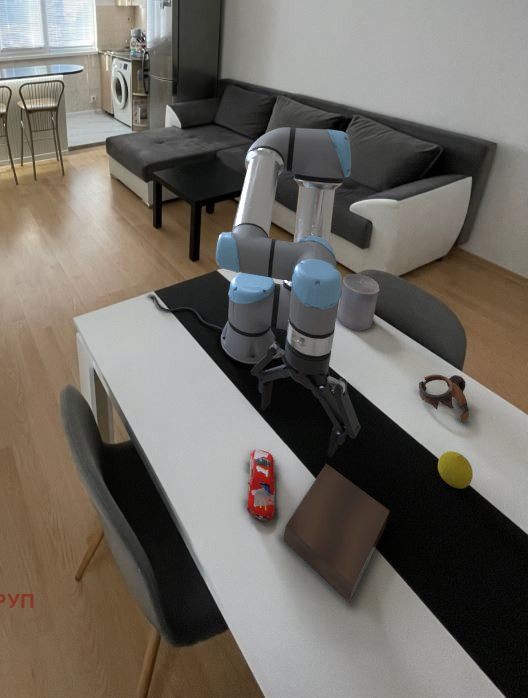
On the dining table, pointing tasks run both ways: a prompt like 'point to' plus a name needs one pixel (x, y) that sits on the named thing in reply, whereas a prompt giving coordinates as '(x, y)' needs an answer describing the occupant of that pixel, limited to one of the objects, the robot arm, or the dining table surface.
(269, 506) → the race car
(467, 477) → the lemon
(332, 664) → the dining table surface
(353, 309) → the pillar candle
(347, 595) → the walnut step
